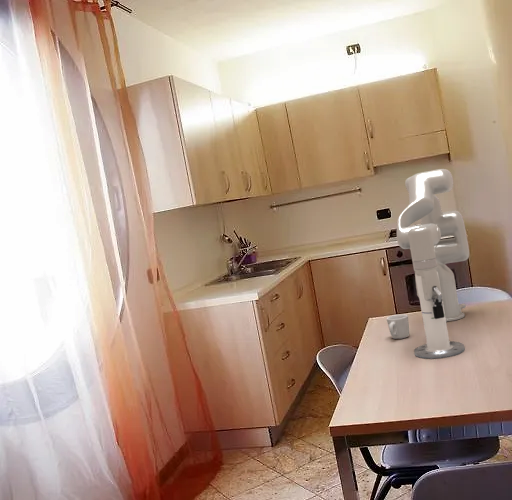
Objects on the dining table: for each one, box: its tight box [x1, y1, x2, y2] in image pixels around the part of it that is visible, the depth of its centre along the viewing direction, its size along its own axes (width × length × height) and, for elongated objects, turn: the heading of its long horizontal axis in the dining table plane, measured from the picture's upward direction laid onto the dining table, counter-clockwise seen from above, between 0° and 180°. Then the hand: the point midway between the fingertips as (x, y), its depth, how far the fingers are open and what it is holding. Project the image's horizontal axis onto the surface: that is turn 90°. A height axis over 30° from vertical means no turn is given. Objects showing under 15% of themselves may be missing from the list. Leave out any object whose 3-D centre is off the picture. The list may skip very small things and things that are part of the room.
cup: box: [386, 313, 410, 340], centre depth 231 cm, size 11×8×8 cm
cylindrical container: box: [414, 272, 450, 351], centre depth 204 cm, size 7×7×25 cm
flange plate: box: [413, 340, 466, 360], centre depth 205 cm, size 16×16×1 cm
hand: (433, 315), depth 204 cm, fingers open, 9 cm apart
